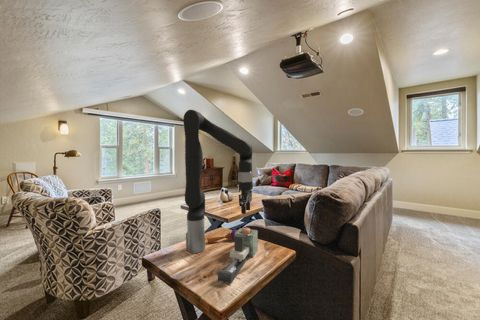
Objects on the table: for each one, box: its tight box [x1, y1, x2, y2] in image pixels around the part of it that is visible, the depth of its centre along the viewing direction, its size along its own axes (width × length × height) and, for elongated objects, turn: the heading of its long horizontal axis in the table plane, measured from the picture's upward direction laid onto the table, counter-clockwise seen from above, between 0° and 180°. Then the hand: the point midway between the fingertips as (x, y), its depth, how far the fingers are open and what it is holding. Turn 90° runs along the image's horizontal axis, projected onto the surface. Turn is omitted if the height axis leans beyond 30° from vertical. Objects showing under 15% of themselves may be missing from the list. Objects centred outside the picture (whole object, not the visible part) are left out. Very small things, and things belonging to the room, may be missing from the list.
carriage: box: [229, 234, 249, 262], centre depth 105 cm, size 8×7×11 cm
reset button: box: [242, 227, 251, 234], centre depth 114 cm, size 4×4×4 cm
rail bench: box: [217, 227, 259, 284], centre depth 104 cm, size 32×10×11 cm, turn 159°
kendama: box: [206, 229, 239, 244], centre depth 130 cm, size 6×6×20 cm
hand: (245, 211), depth 114 cm, fingers open, 6 cm apart
